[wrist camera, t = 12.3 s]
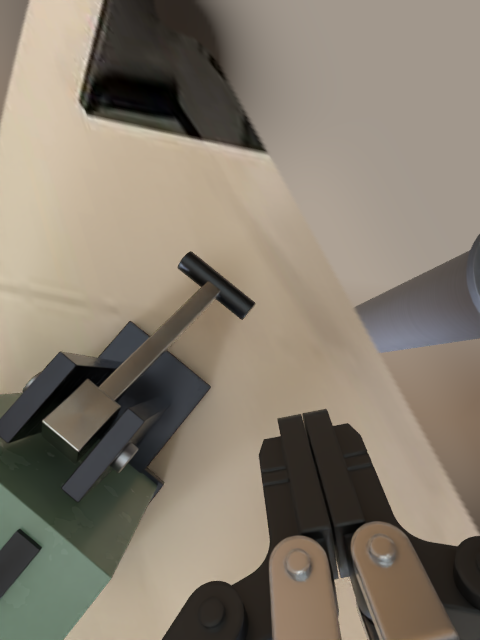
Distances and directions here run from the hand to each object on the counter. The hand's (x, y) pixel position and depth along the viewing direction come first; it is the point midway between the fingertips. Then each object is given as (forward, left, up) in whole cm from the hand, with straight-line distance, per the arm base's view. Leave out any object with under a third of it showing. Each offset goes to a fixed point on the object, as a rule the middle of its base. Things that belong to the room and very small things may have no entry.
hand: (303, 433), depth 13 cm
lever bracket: (+6, -7, -20) cm, 22 cm away
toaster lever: (+2, -7, -12) cm, 14 cm away
